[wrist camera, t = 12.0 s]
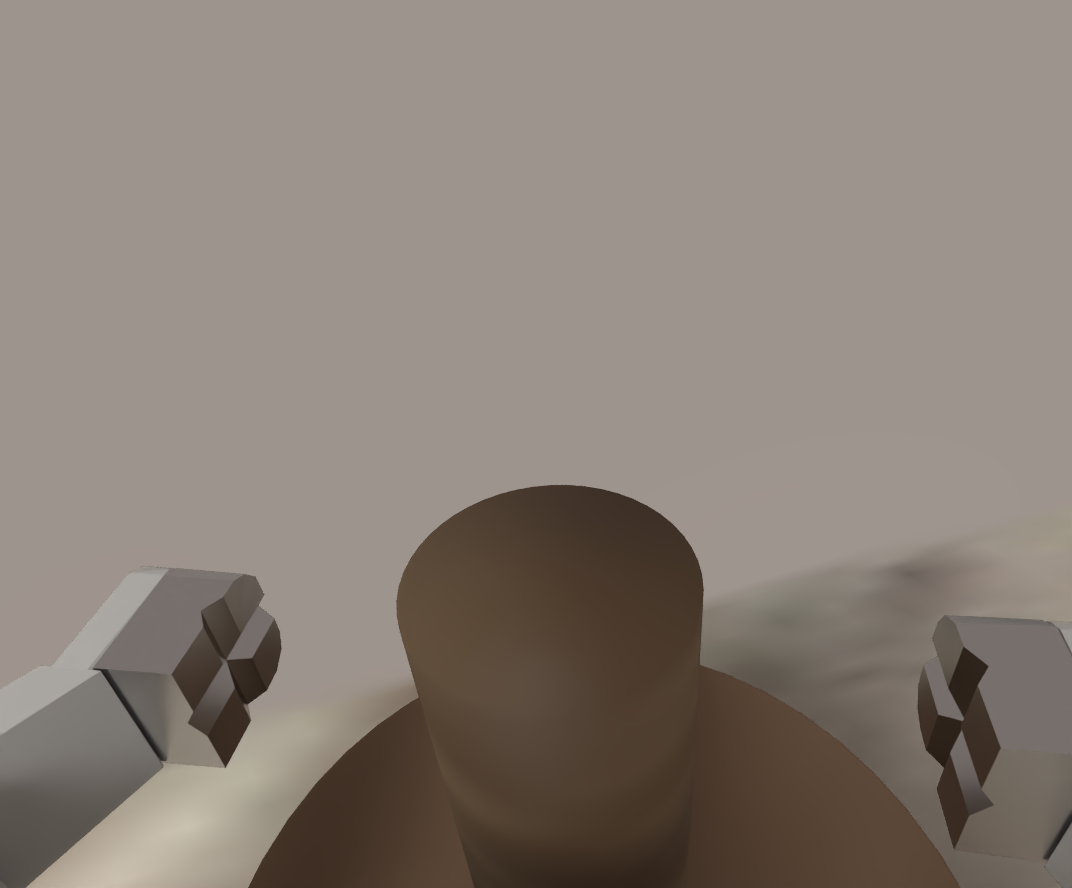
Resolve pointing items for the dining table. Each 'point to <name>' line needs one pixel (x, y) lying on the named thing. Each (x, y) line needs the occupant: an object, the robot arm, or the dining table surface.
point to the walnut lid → (585, 732)
